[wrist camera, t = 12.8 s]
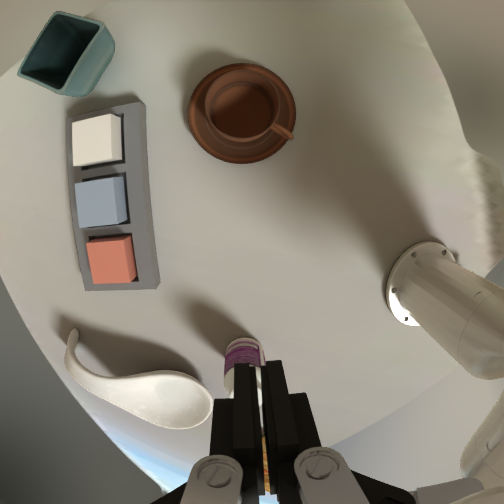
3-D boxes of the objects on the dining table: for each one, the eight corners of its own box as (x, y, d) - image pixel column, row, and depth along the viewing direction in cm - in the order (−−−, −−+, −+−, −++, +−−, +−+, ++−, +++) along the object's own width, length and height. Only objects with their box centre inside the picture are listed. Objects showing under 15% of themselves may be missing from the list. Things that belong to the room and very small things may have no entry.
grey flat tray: (145, 105, 32) (139, 101, 30) (160, 282, 38) (155, 288, 35) (75, 120, 32) (66, 118, 29) (92, 284, 37) (85, 290, 35)
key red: (132, 234, 35) (123, 240, 32) (137, 274, 36) (130, 282, 33) (96, 237, 35) (86, 243, 32) (103, 275, 36) (93, 283, 33)
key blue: (123, 176, 32) (113, 177, 29) (127, 219, 33) (117, 223, 30) (86, 182, 32) (74, 183, 29) (90, 223, 33) (79, 227, 30)
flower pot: (132, 50, 30) (106, 22, 21) (96, 109, 32) (60, 95, 23) (86, 34, 28) (55, 9, 20) (53, 88, 30) (15, 75, 21)
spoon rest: (226, 375, 42) (224, 408, 35) (198, 423, 44) (193, 454, 37) (78, 308, 38) (54, 331, 31) (68, 364, 41) (49, 389, 34)
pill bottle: (217, 351, 40) (212, 397, 31) (245, 329, 40) (247, 372, 30) (244, 374, 42) (245, 420, 32) (272, 353, 41) (280, 398, 31)
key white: (120, 117, 30) (110, 113, 27) (122, 159, 31) (111, 158, 29) (84, 125, 30) (72, 122, 27) (85, 166, 31) (73, 166, 28)
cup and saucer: (301, 80, 32) (313, 64, 26) (281, 174, 35) (290, 174, 29) (203, 61, 31) (197, 42, 25) (180, 154, 34) (169, 151, 28)
